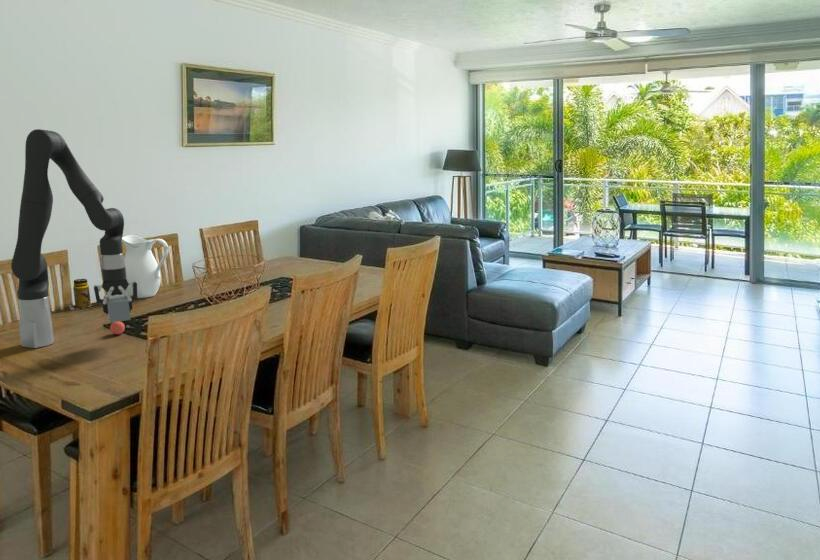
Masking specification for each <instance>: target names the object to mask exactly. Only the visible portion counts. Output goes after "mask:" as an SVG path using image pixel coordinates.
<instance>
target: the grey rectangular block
mask: <svg viewBox="0 0 820 560" xmlns="http://www.w3.org/2000/svg"><path fill="white" fill-rule="evenodd" d="M107 307H108V314H107V317H108V321H109V323H113V322H118V321H120V322H125V321H131V312H130V309H129V300H128V298H126V297H125V296H124V295H123V294H122V295H114V296H112V295H110V297H109V299H108V300H107Z"/></svg>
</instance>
